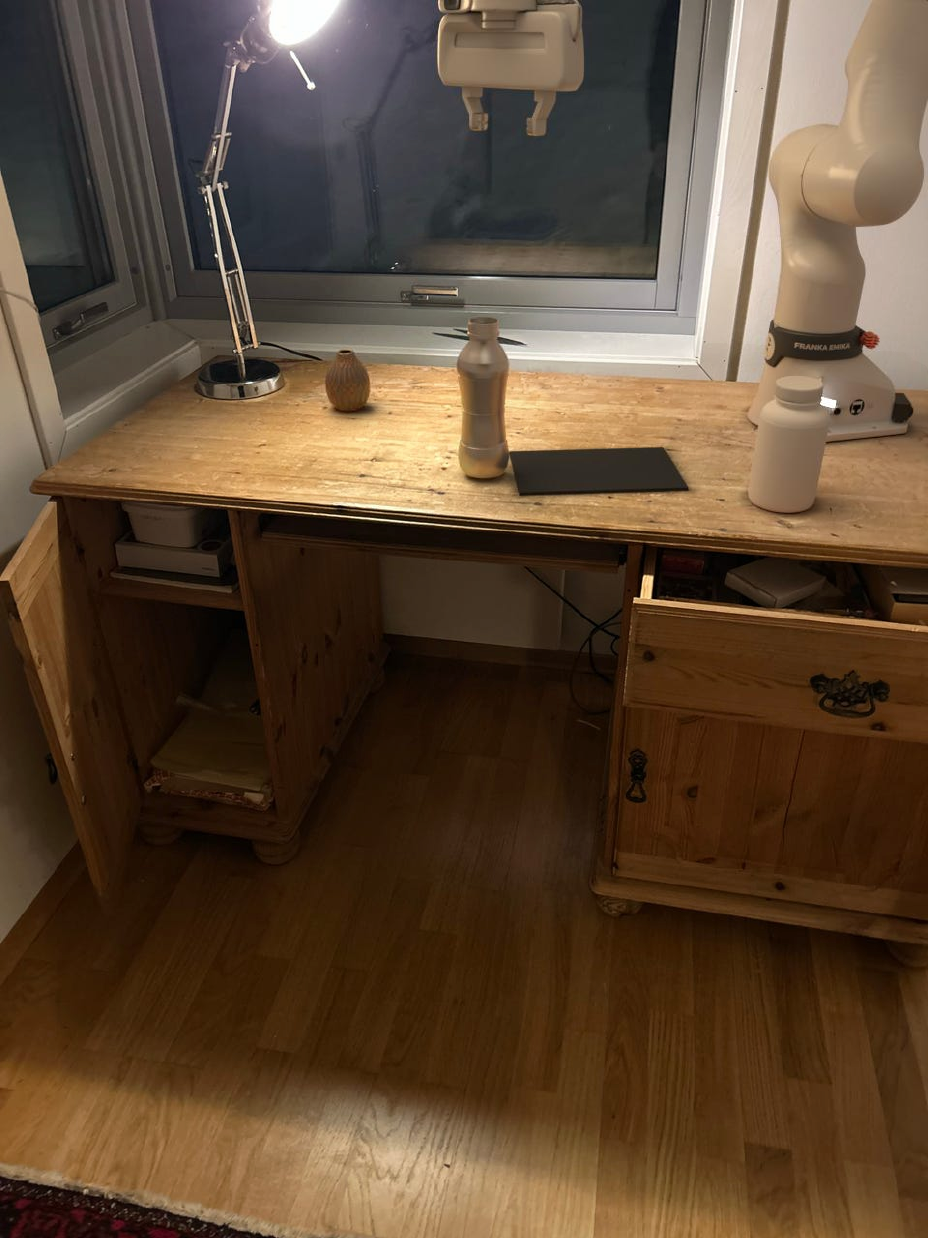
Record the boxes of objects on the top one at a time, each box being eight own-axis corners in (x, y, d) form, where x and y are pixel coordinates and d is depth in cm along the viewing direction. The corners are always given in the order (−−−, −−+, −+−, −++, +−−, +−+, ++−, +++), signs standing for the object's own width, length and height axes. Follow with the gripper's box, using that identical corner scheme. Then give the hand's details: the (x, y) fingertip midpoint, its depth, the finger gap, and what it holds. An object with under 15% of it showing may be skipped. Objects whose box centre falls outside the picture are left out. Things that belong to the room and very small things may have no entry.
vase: (320, 413, 147) (315, 356, 143) (336, 398, 153) (331, 343, 148) (363, 416, 146) (359, 359, 141) (377, 401, 151) (374, 346, 147)
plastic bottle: (504, 485, 123) (507, 328, 112) (453, 482, 124) (450, 326, 114) (512, 466, 128) (515, 314, 118) (463, 463, 129) (461, 312, 119)
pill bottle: (734, 501, 118) (752, 382, 110) (768, 482, 123) (787, 367, 115) (792, 520, 114) (815, 397, 106) (825, 500, 118) (850, 381, 110)
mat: (662, 449, 133) (663, 446, 133) (688, 490, 121) (688, 487, 121) (509, 453, 132) (509, 451, 132) (519, 495, 120) (519, 492, 120)
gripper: (601, -9, 102) (591, 136, 109) (467, -4, 114) (466, 125, 121) (562, -11, 98) (554, 140, 105) (428, -6, 111) (429, 128, 118)
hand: (506, 132), depth 113 cm, fingers open, 8 cm apart
